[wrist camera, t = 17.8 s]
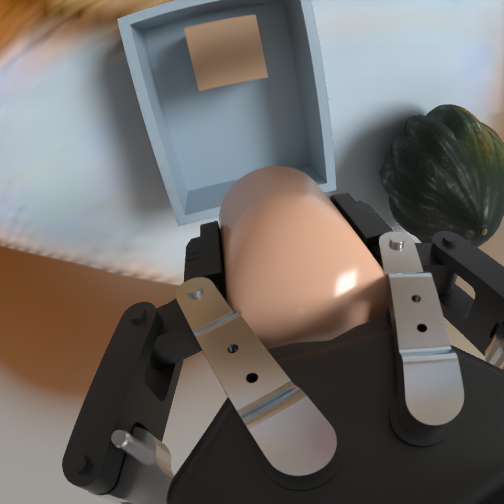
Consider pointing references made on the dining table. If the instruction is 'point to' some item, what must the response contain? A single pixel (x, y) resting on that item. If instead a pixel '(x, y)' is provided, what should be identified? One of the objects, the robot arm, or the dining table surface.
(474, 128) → the squash
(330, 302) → the terracotta cylinder
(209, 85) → the walnut cube
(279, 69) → the tote
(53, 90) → the dining table surface
